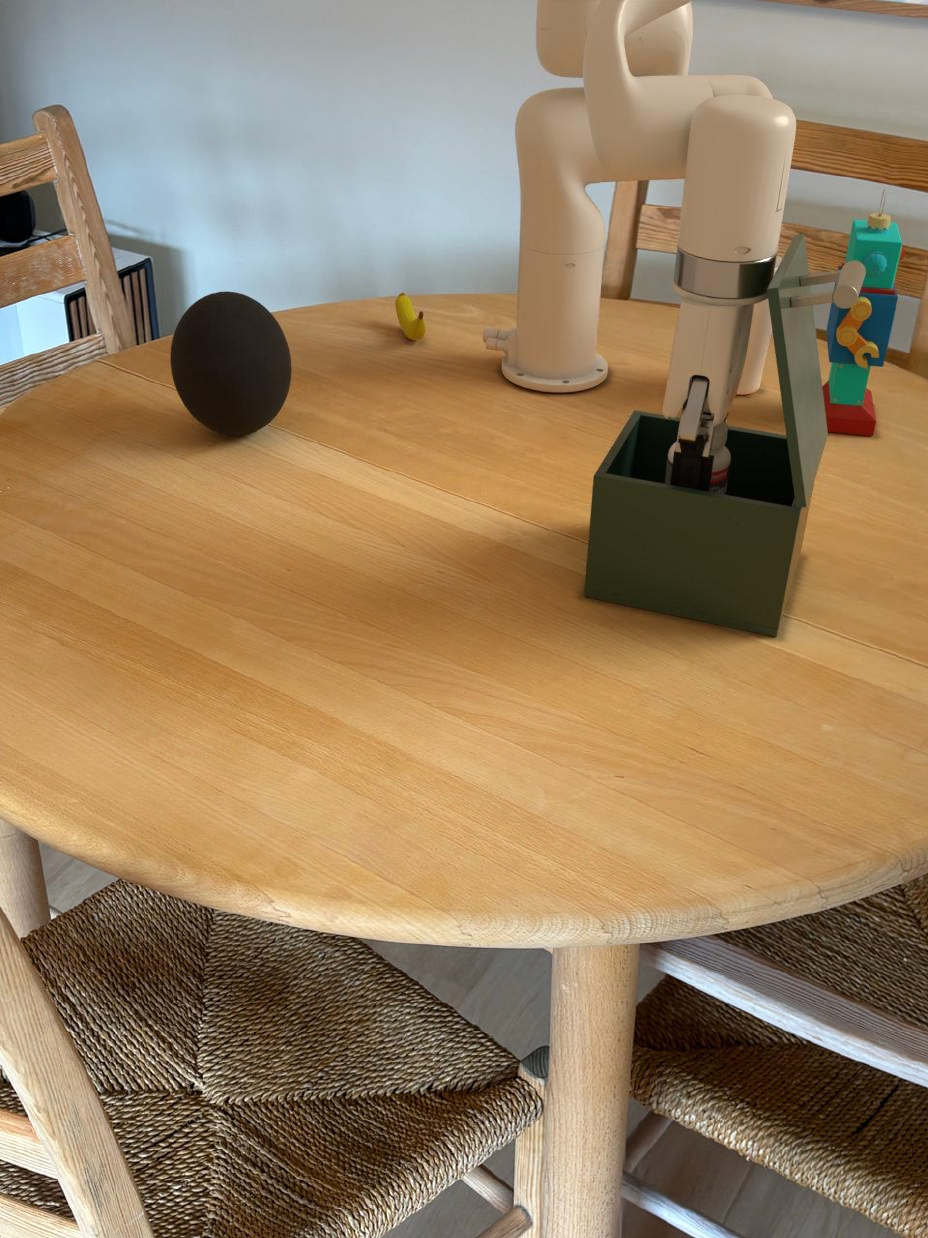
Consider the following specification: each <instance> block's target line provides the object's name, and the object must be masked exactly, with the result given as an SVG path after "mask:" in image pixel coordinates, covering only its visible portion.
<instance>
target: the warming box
mask: <svg viewBox="0 0 928 1238" xmlns="http://www.w3.org/2000/svg"><path fill="white" fill-rule="evenodd" d="M680 419H681V417H678V416H676V418H670V419H666V418H665V417H664V415H663V414H660V413H654V412H650V411H649V412H647V411H643V410H635V409H634V410H633V412H632V413H631V415H630V416H629V418H628V419H627V421H626V423H625V425H624V426H623V427H622V430H621V431H620V433H619V434H618V436H617V437H616V439H615V441H613V444H612V445H611V447H610V449H609V450H608V452H607V453H606V455H605V457H604V458H603V460H602V461H601V463H600V465H599V466H598V468H597V470H596V471H595V472H594V474H593V479H592V480H593V481H592V490H591V491H592V492H591V504H590V516H589V528H588V540H587V541H588V542H587V553H586V565H585V577H584V589H583V597H584V598H589V599H594V600H597V601H598V600H599V601H603V602H607V603H608V602H609V603H613V604H617V605H622V606H627V607H632V608H636V609H642V610H644V611H645V610H646V611H650V612H656V613H660V614H666V615H669V616H675V617H680V618H683V619H687V620H688V619H689V620H692V621H693V620H694V621H698V622H703V623H708V624H713V625H717V626H722V627H727V628H732V629H736V630H742V631H745V632H751V633H756V634H761V635H765V636H769V637H773V638H774V637H775V638H777V637H778V634H779V631H780V627H781V625H782V621H783V618H784V617H783V616H784V614H785V610H786V606H787V603H788V599H789V597H790V596H789V595H790V593H791V590H792V587H793V586H792V585H793V584H794V583H793V582H794V579H795V576H796V572H797V568H798V565H799V562H800V559H801V554H802V547H803V544H804V543H803V542H804V538H805V532H806V529H807V528H806V527H807V523H808V516H809V512H810V506H811V501H812V497H813V491H814V485H815V480H816V479H815V480H814V483H813V487H812V490H811V493H810V497H809V500H808V503H807V507H802V508H796V503H795V496H794V488H793V481H792V473H791V466H790V459H789V451H788V444H787V436H786V434H782V433H777V432H776V433H775V432H770V431H764V430H759V429H753V428H746V427H740V426H733V425H728V432H727V440H726V443H725V447H726V448H727V449H728V450H729V452H730V455H731V462H730V469H729V476H728V483H727V489H726V495H724V494H718V493H713V492H707V491H702V490H696V489H690V488H685V487H679V486H674V485H668V484H665V477H666V468H667V459H668V453H669V450H670V448H671V446H672V445H673V444H674V443H675V442H677V437H678V430H679V424H680Z"/></svg>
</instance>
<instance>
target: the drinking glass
mask: <svg viewBox="0 0 928 1238" xmlns="http://www.w3.org/2000/svg"><path fill="white" fill-rule="evenodd" d="M782 259H783V257H780V256H778V255H777V257H776V263H775V269H774V274H775V272H776V270H777V269H778V267H779V265H780V263H781V261H782ZM772 337H773V332H772V324H771V317H770V309H769V302H768V298H767V299H766V300H763V301H762V302H759V303H755V304H754V309H753V316H752V323H751V330H750V337H749V343H748V349H747V354H746V360H745V365H744V369H743V374H742V378H741V382H740V386H739V389H738V391H737V394H736V396H738V395H739V396H743V395H744V396H745V395H751V394H753V393H755V392H757V391H758V390H759V389H760V386H761V384H762V378H763V372H764V368H765V364H766V360H767V355H768V351H769V347H770V343H771V339H772Z"/></svg>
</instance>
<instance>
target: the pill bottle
mask: <svg viewBox="0 0 928 1238" xmlns="http://www.w3.org/2000/svg"><path fill="white" fill-rule="evenodd" d="M702 418H705V419H711V416H710V415H703V416H702ZM679 425H680V424H679ZM727 425H728V424H727V422H724V421H723V422H722V423H721V424H719V425H718V426H716V428H715V433H714V439H713V444H712V450H711V455H713V456H714V461H713V468H712V475H711V482H710V489H709V492H713V493H718V494H724V495H726V489H727V483H728V476H729V469H730V462H731V455H730V452H729V450H728V449H727V448H726V447H725V446H724V445H725V443H726V440H727V432H728V426H729V425H728V426H727ZM678 431H679V430H678ZM706 431H707V428H704V427H700V434H699V435H703V436H704V439H705V437H706ZM676 443H677V442H675V443H674V444H673V445H672V446H671V448H670V450H669V453H668V459H667V468H666V477H665V484H668V485H670V481H671V473H672V464H673V456H674V451H675V449H676Z"/></svg>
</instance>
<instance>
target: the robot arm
mask: <svg viewBox="0 0 928 1238" xmlns="http://www.w3.org/2000/svg"><path fill="white" fill-rule="evenodd" d="M692 1H693V0H537V1H536V2H537V3H536V19H535V20H536V21H535V48H536V54H537V59H538V61H539V64H540V66H541V67H542V68H543V69H544V71H545V72H547V73H549V74H550V75H552V76H557V77H560V78H571V79H572V78H573V79H582V80H583V87H582V86H581V87H580V86H577V87H558V88H551V89H546V90H542V91H539V92H536V93H534V94H533V95H531V96H529V97H528V98H527V99H526V100H524V101H523V103H522V104H521V105H520V107H519V109H518V111H517V114H516V117H515V123H514V124H515V125H514V139H515V149H516V158H517V168H518V177H519V193H520V194H519V195H520V197H519V201H520V202H519V203H520V204H519V205H520V210H519V211H520V212H519V213H520V214H519V246H518V247H519V250H518V271H517V272H518V274H517V276H518V277H517V298H516V324H515V327H516V328H515V327H511V328H510V329H509V330H506V329H501V328H500V327H492V326H485V327H484V330H483V333H482V342H483V343H485V349H486V350H490V351H495V352H496V351H501V352H503V353H504V354H505V355H504V356H503V357H502V360H501V373H502V374H503V375H504V377H505V378H506V380H508V381H510V382H511V383H513V384H515V385H517V386H519V387H522V388H524V389H528V390H532V391H538V392H543V393H575V392H580V391H585V390H589V389H592V388H594V387H597V386H598V385H601V384H602V383H603V382H604V381H605V380H606V379H607V377H608V373H609V364H608V362H607V360H606V359H605V358H604V356H602V355H600V354H599V353H597V345H598V334H599V320H600V319H599V318H600V307H601V306H600V305H601V295H602V281H603V270H604V269H603V268H604V257H605V245H606V244H605V241H606V224H605V219H604V216H603V214H602V212H601V210H600V209H599V207H598V206H597V204H596V203H595V202H594V201H593V199H592V198H591V197H590V196H589V194H588V193H587V191H586V187H587V186H588V185H592V184H601V183H616V182H617V183H619V182H622V183H623V182H637V181H639V182H640V181H668V180H670V181H671V180H683V189H682V190H683V191H682V199H681V205H680V206H681V208H680V217H679V225H678V235H677V244H676V255H675V263H674V271H673V281H672V288H673V290H674V292H675V293H677V294H678V295H679V296H681V301H680V306H679V311H678V315H677V318H676V324H675V330H674V334H673V341H672V347H671V353H670V358H669V359H670V360H669V367H668V373H667V378H666V379H667V380H666V385H665V393H664V397H663V398H664V399H663V404H662V405H663V406H662V410H661V411H662V415H664V417H665V418H666V419H670V418H676V417H678V415H679V412H680V411H681V414H680V418H681V419H680V425H679V431H678V437H677V443H676V449H675V451H674V456H673V464H672V473H671V481H670V485H674V486H679V487H685V488H690V489H696V490H702V491H707V492H709V489H710V482H711V475H712V468H713V461H714V456H713V455H711V450H712V444H713V439H714V433H715V428H716V426H718V425H719V424H721V423H722V422H723V421H724V422H726V423H727V422H728V418H729V411H730V409H731V407H732V405H733V402H734V400H735V398H736V396H737V391H738V389H739V386H740V382H741V378H742V374H743V369H744V365H745V360H746V354H747V349H748V343H749V337H750V330H751V323H752V316H753V309H754V304H755V303H759V302H762V301H763V300H766V299H767V298H768V295H767V288H768V286H769V284H770V282H771V280H772V278H773V276H774V269H775V263H776V257H777V256H778V249H779V245H780V244H779V243H780V236H781V231H782V224H783V217H784V211H785V204H786V198H787V192H788V185H789V180H790V173H791V167H792V161H793V154H794V147H795V142H796V132H797V119H796V115H795V112H794V111H793V109H792V108H791V107H790V106H789V105H788V104H787V103H784V102H782V101H780V100H778V99H775V98H774V97H773V95H772V93H771V91H770V90H769V88H768V87H767V85H766V84H765V83H764V82H763V81H761V80H760V79H759V78H757V77H754V76H750V75H746V74H689V69H690V62H691V56H692V48H693V47H692V46H693V37H694V36H693V35H694V14H693V7H692ZM703 415H710V416H711V419H705V418H702V416H703ZM727 426H729V425H728V424H727ZM700 427H704V428H707V431H706V437H705V439H704V436H703V435H699V434H700ZM724 446H725V445H724Z"/></svg>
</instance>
